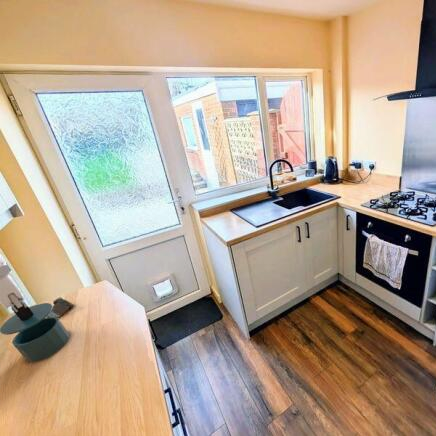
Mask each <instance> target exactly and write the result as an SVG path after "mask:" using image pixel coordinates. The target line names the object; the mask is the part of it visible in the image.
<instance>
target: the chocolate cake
mask: <svg viewBox="0 0 436 436" xmlns="http://www.w3.org/2000/svg"><path fill="white" fill-rule="evenodd" d="M52 306H53V309H52V311H51V312H50V314H49V315H48V316H47V317H57V318H61V317H62V316H63V315H64V314H65V313H66V311H68V309H69V308H73V307H75V304H73V303H72V302H70V301H69V300H67V299H64V298H62V297H60V296H59V297H58V298H56V299H53V301H52ZM47 317H46V318H47Z"/></svg>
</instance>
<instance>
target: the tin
mask: <svg viewBox="0 0 436 436" xmlns="http://www.w3.org/2000/svg"><path fill="white" fill-rule="evenodd" d="M69 339H70V333H69V331H68V330H67V329H66V327H65V326H64V325H63V323H62V321H61V320H60V318H59V317H45V318H44V319H43V320H42V321H40V322H39V323H37V324H35V325H34V326H32V327H30V328H28V329H26V330H23V331H21V332H18V333H16V335H15V336H14V337H13V340H12V342H11V344H12V345H13V346H14V347H15V349H16V350H17V352H19V353H20V355H21V356H22V357H23V358H24V359H25V360H26V362H29V363H35V362H36V363H37V362H39V361H40V362H41V361H42V360H45V359H47V358H49V357H51V356H53V355H54V354H56V353H58V352H59V351H60V350H61V349H62V348H63V347H64V346H65V345H66V344H67V343H68V341H69Z"/></svg>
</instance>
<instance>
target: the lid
mask: <svg viewBox="0 0 436 436" xmlns="http://www.w3.org/2000/svg"><path fill="white" fill-rule="evenodd" d="M23 302H24V301H23ZM24 303H25V305H26V306H28V305H27V304H26V302H24ZM53 306H54V305H53V304H52V303H49V302H43V303H38V304H35V305H32V306H28V307H29V308H30V310H31V311H32V312H33V314H34V315H33V316H31V317H29V318H27V319H26V320H24V321H21V320H20V318H19V317H18V316H17V315H16V314H15V313H14V312H16V311H15V310H14V309H13V308H12V307H11V308H12V309H11V310H12V311H13V313H14V315H12V316H11V317H9V318H8V319H7V320H6V321H5V322H3V324H2V325H1V326H0V333H1V334H2V335H6V336H8V335H9V336H10V335H13V334H18V333H19V332H21V331H23V330H26V329H28V328H30V327H32V326H34V325H35V324H37V323H39V322H40V321H42V320H43V319H44V318H47V316H48V315H49V314H50V312H51V311H52V309H53ZM15 307H16V305H15Z"/></svg>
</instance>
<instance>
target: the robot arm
mask: <svg viewBox="0 0 436 436" xmlns="http://www.w3.org/2000/svg"><path fill="white" fill-rule="evenodd" d="M12 273H13V269H12V267H10V265H9V263H8V262H7V261H6V259H5V258H4V256H3V255H2V254H1V253H0V305H1V307H3V309H5V310H7V309H9V308H10V307H11V310H12V308H13V309H14V310H15V311H16V312H14V311H13V313H14V315H15V314H16V315H17V316H18V317H19V318H20V320H21V321H24V320H26V319H27V318H29V317H31V316H33V315H34V314H33V312H32V311H31V310H30V308H29V307H30V306H28V305H27V304H26V302H25V303H24V301H25V296H24V294H23V293H22V291H21V289H20V288H19V287H18V285H17V283H16V282H15V280H14V279H13V277H12V276H11V274H12ZM25 304H26V305H27V306H26V305H25ZM15 305H16V307H15Z"/></svg>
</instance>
